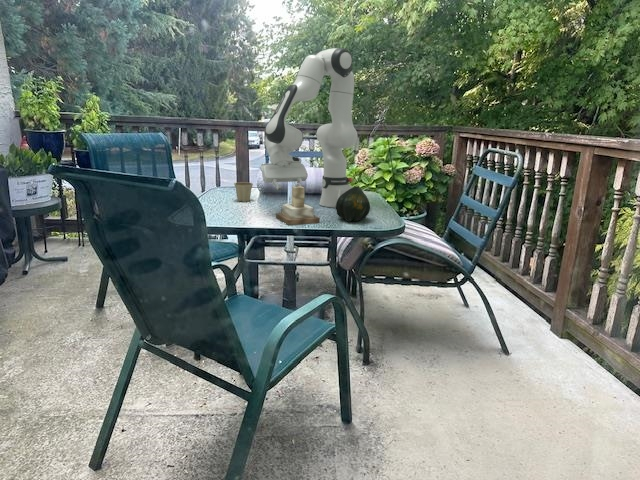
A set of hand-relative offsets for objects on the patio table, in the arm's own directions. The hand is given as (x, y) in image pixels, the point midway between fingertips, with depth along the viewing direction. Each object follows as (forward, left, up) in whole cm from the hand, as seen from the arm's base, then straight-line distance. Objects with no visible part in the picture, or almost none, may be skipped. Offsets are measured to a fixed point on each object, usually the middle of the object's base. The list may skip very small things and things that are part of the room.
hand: (289, 188), depth 194 cm
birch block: (0, +10, -6) cm, 11 cm away
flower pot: (+9, -38, -12) cm, 41 cm away
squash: (-23, +16, -12) cm, 30 cm away
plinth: (0, +10, -12) cm, 15 cm away
